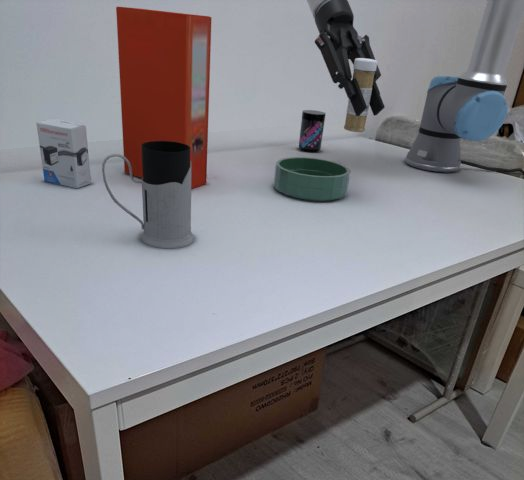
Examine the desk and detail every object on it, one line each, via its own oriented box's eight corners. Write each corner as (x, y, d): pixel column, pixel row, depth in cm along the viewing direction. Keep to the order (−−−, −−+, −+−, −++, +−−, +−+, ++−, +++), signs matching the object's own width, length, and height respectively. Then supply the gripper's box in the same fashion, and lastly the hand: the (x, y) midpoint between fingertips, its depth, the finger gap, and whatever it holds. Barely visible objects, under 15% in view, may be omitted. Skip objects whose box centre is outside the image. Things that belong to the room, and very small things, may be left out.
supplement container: (293, 149, 155) (297, 111, 149) (305, 146, 160) (310, 109, 154) (312, 154, 152) (317, 115, 146) (324, 150, 156) (330, 113, 151)
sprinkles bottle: (353, 127, 114) (365, 57, 107) (369, 132, 112) (382, 60, 104) (338, 128, 112) (350, 57, 104) (354, 133, 109) (367, 60, 102)
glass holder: (197, 247, 87) (199, 153, 79) (109, 250, 83) (101, 152, 75) (188, 228, 94) (189, 140, 86) (106, 230, 90) (98, 138, 82)
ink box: (43, 181, 109) (34, 121, 103) (59, 176, 113) (51, 118, 107) (77, 189, 107) (70, 128, 101) (92, 183, 111) (86, 124, 105)
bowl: (326, 180, 129) (330, 157, 126) (358, 201, 116) (363, 176, 113) (263, 181, 124) (265, 157, 121) (289, 203, 111) (292, 177, 108)
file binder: (148, 167, 125) (143, 8, 108) (207, 183, 118) (211, 16, 101) (124, 174, 119) (114, 6, 102) (184, 191, 112) (185, 14, 95)
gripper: (350, 27, 116) (387, 121, 115) (288, 21, 107) (328, 124, 106) (372, -1, 110) (412, 99, 108) (308, -9, 101) (350, 99, 99)
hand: (370, 111), depth 107 cm, fingers closed on sprinkles bottle, 4 cm apart
